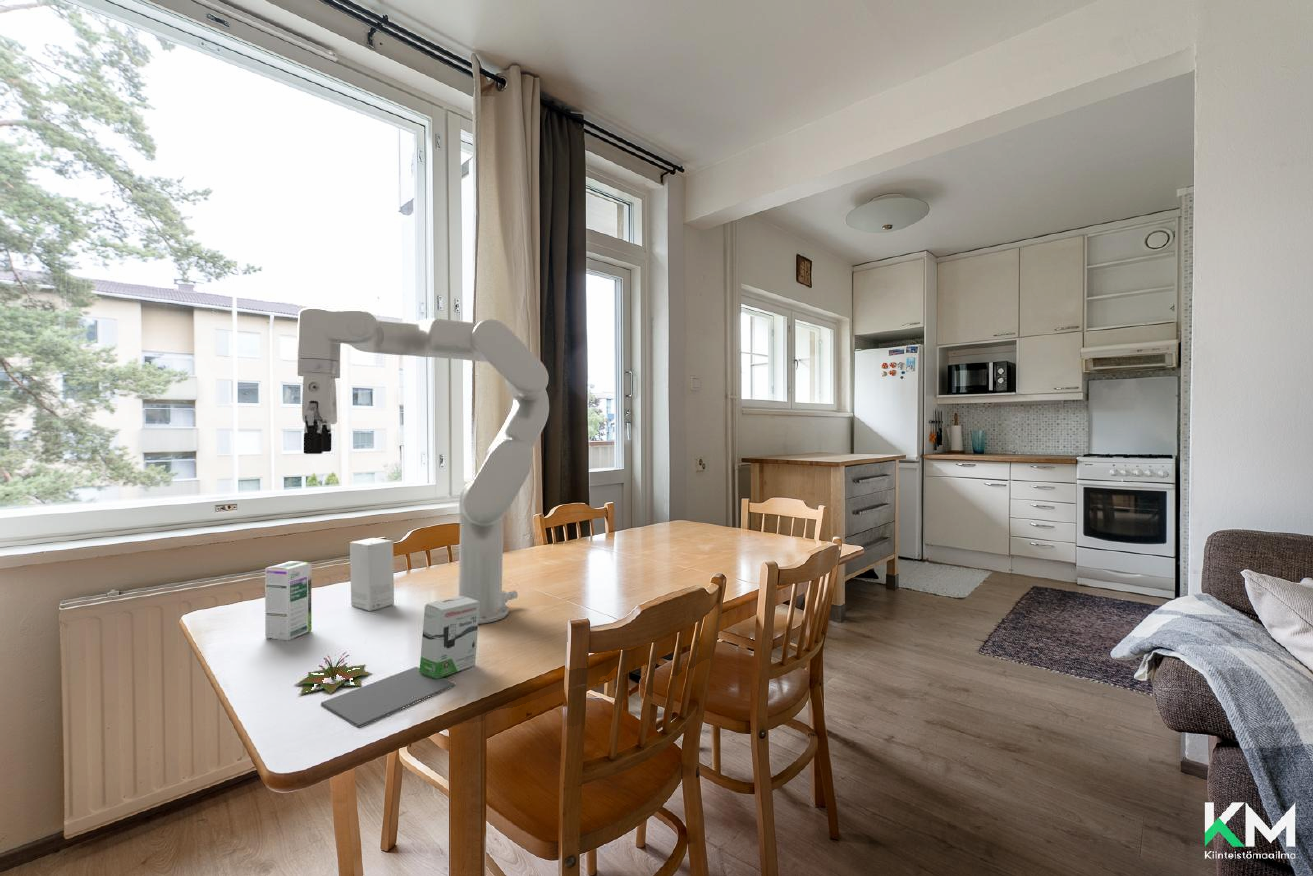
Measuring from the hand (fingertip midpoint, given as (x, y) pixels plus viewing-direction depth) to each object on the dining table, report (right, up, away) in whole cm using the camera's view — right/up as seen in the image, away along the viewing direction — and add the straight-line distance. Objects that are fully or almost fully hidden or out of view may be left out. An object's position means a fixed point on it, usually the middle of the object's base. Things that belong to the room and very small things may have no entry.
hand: (318, 452), depth 114 cm
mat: (+27, -38, -26) cm, 54 cm away
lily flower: (+15, -39, -21) cm, 46 cm away
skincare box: (+2, -37, +18) cm, 41 cm away
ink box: (+33, -38, -16) cm, 53 cm away
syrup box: (-5, -37, -1) cm, 38 cm away
